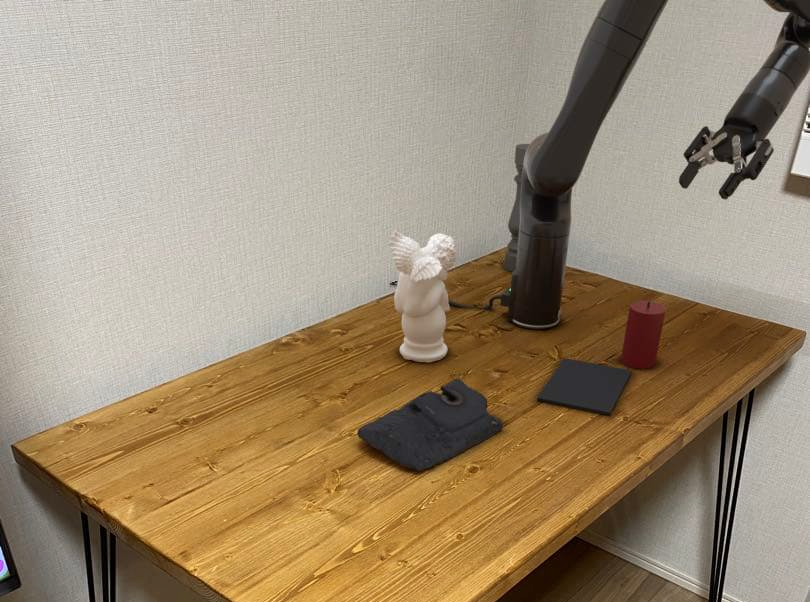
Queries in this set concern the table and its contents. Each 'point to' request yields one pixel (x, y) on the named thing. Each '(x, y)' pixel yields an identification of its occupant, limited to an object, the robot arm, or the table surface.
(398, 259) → the cherub figurine
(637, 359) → the candle
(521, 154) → the candle holder
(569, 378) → the mat
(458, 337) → the table surface
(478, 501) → the table surface
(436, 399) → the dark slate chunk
